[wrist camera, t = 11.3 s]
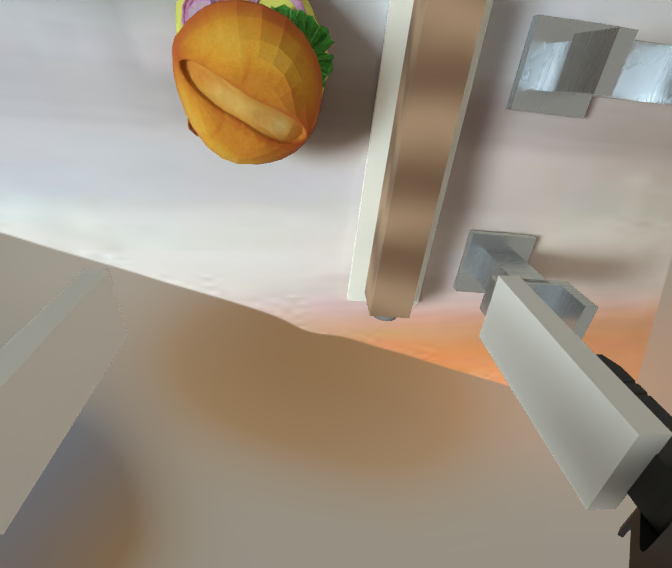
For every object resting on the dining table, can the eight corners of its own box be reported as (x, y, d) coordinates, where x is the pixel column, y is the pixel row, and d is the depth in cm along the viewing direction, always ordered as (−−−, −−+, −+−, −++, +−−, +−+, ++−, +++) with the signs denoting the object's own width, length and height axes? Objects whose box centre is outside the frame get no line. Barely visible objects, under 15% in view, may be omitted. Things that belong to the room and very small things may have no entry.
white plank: (395, -42, 25) (397, -44, 25) (496, -26, 26) (500, -28, 25) (346, 296, 38) (347, 300, 37) (415, 301, 38) (417, 304, 38)
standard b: (530, 15, 27) (634, -11, 18) (614, 28, 28) (753, 8, 19) (503, 108, 30) (582, 123, 21) (580, 117, 31) (687, 136, 22)
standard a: (467, 229, 35) (520, 282, 26) (535, 235, 35) (607, 289, 27) (451, 286, 38) (493, 352, 29) (513, 291, 38) (572, 356, 30)
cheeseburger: (331, -40, 25) (342, -25, 18) (328, 126, 32) (335, 185, 25) (171, -46, 24) (115, -33, 17) (205, 125, 31) (176, 185, 24)
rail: (420, -41, 25) (438, -59, 21) (472, -32, 25) (498, -49, 22) (363, 301, 37) (368, 325, 34) (398, 303, 38) (406, 327, 34)
